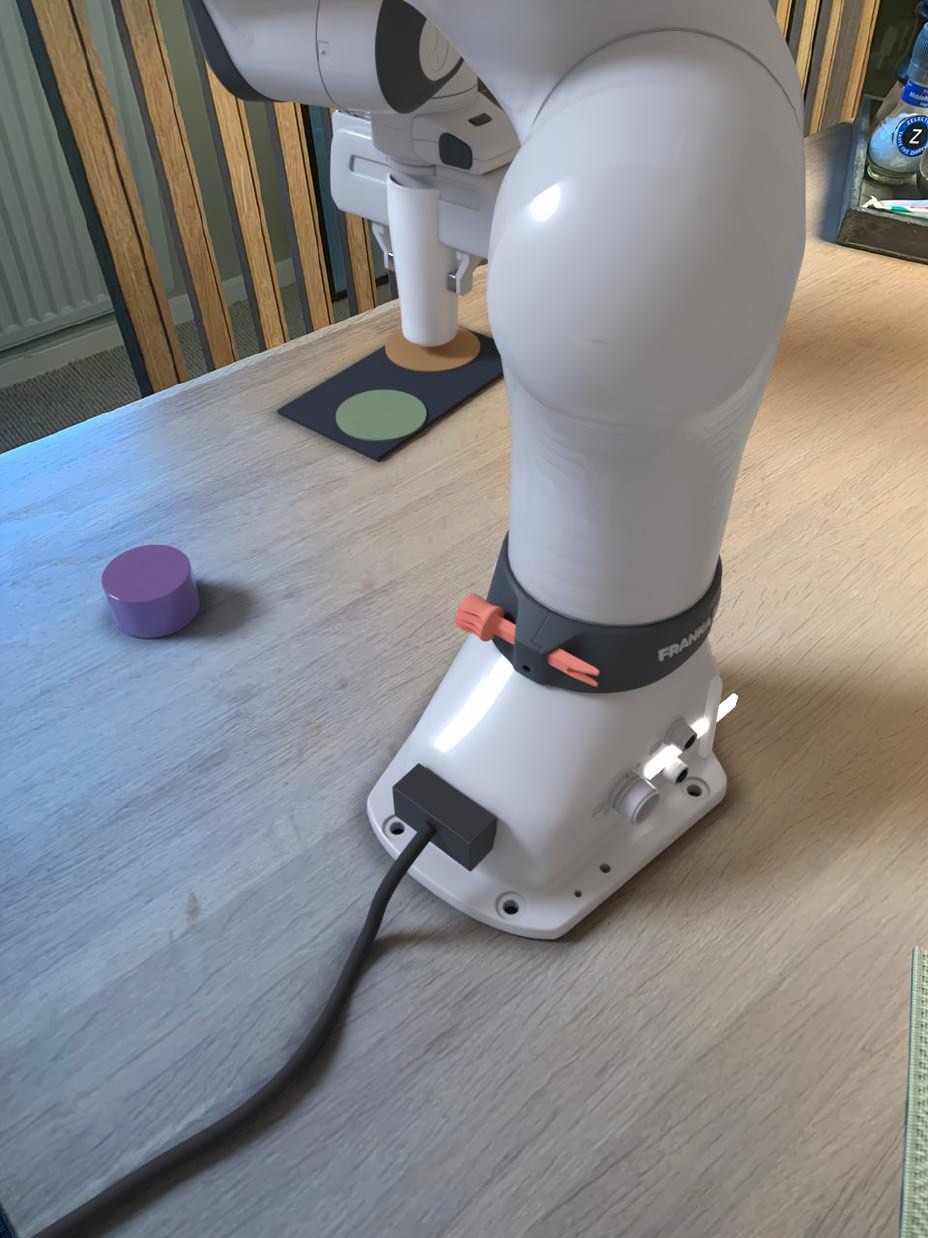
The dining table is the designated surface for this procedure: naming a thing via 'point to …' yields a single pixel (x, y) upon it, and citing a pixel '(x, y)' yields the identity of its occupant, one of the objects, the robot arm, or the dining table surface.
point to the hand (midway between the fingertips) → (428, 280)
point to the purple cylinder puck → (151, 591)
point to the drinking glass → (421, 266)
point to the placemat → (397, 391)
